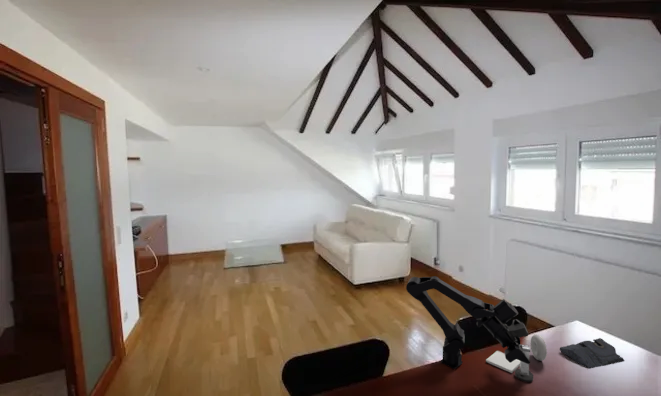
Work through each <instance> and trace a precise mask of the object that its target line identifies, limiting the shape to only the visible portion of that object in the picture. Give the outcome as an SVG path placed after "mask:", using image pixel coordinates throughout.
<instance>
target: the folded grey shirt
mask: <svg viewBox="0 0 661 396" xmlns="http://www.w3.org/2000/svg"><path fill="white" fill-rule="evenodd" d="M559 351H560V352H561V353H563V354H564V355H566V356H567V357H569V358H570V359H572V361H575V362H576V363H578V364H579V365H581V366H582V367H585V368H587V369H594V368H599V367H603V366H604V367H605V366H609V365H613V364H618V363H622V362H625V359H624V357H622V356H621V355H619V354H618V353H617V350H616V348H615V347H614V345H611V344H610V343H608V342H606V341H605V340H604V339H603V338H601V337H599V338H596V339H593V341H591V340H583V341H580V342H577V343H576V344H574V343H573V344H570V345H566V346H561V347H559Z"/></svg>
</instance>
